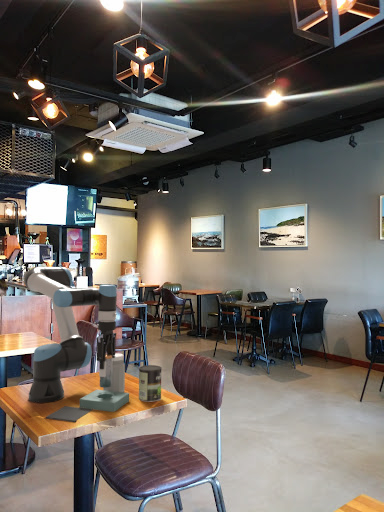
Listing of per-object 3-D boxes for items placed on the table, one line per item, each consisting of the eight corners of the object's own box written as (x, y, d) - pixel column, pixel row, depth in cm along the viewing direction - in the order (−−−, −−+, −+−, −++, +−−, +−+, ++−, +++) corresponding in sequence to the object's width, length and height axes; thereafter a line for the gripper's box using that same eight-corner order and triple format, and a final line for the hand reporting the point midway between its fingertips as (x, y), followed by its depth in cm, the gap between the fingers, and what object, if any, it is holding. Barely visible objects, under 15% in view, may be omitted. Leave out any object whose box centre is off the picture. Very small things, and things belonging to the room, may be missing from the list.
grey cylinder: (97, 386, 172) (98, 356, 173) (103, 383, 177) (103, 353, 177) (107, 388, 171) (108, 357, 171) (113, 384, 176) (114, 354, 176)
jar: (99, 395, 187) (99, 356, 188) (110, 389, 196) (111, 352, 197) (117, 397, 184) (117, 358, 184) (128, 391, 193) (128, 353, 193)
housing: (79, 408, 169) (79, 399, 169) (96, 398, 183) (96, 389, 183) (114, 413, 165) (114, 403, 165) (128, 402, 178) (129, 393, 178)
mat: (45, 418, 158) (45, 416, 158) (65, 407, 170) (65, 405, 170) (75, 422, 154) (75, 420, 154) (92, 410, 167) (92, 409, 167)
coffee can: (163, 396, 187) (164, 365, 187) (157, 403, 177) (158, 371, 177) (142, 394, 189) (143, 364, 189) (135, 401, 179) (135, 369, 179)
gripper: (104, 323, 165) (103, 381, 164) (124, 318, 182) (123, 370, 182) (88, 322, 167) (86, 379, 166) (109, 317, 184) (108, 368, 184)
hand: (105, 374), depth 174 cm, fingers closed on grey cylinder, 5 cm apart
